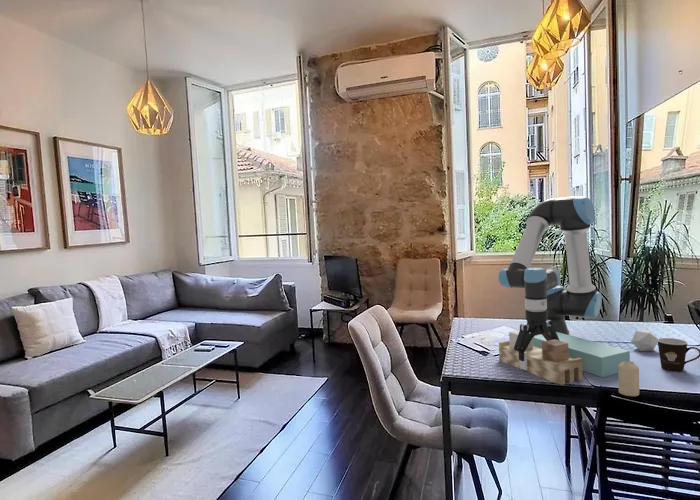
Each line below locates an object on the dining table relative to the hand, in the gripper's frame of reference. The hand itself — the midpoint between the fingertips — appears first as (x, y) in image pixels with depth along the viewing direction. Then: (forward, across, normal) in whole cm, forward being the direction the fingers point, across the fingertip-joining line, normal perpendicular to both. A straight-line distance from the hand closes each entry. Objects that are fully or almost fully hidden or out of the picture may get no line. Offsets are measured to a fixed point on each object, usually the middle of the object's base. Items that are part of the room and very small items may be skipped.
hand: (537, 365), depth 162 cm
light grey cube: (-5, 0, +8) cm, 10 cm away
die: (+2, +52, -5) cm, 52 cm away
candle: (+2, +7, -30) cm, 31 cm away
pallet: (+2, 0, 0) cm, 2 cm away
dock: (+1, +19, 0) cm, 19 cm away
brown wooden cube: (-5, 0, -8) cm, 10 cm away
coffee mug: (+2, +39, -25) cm, 46 cm away
